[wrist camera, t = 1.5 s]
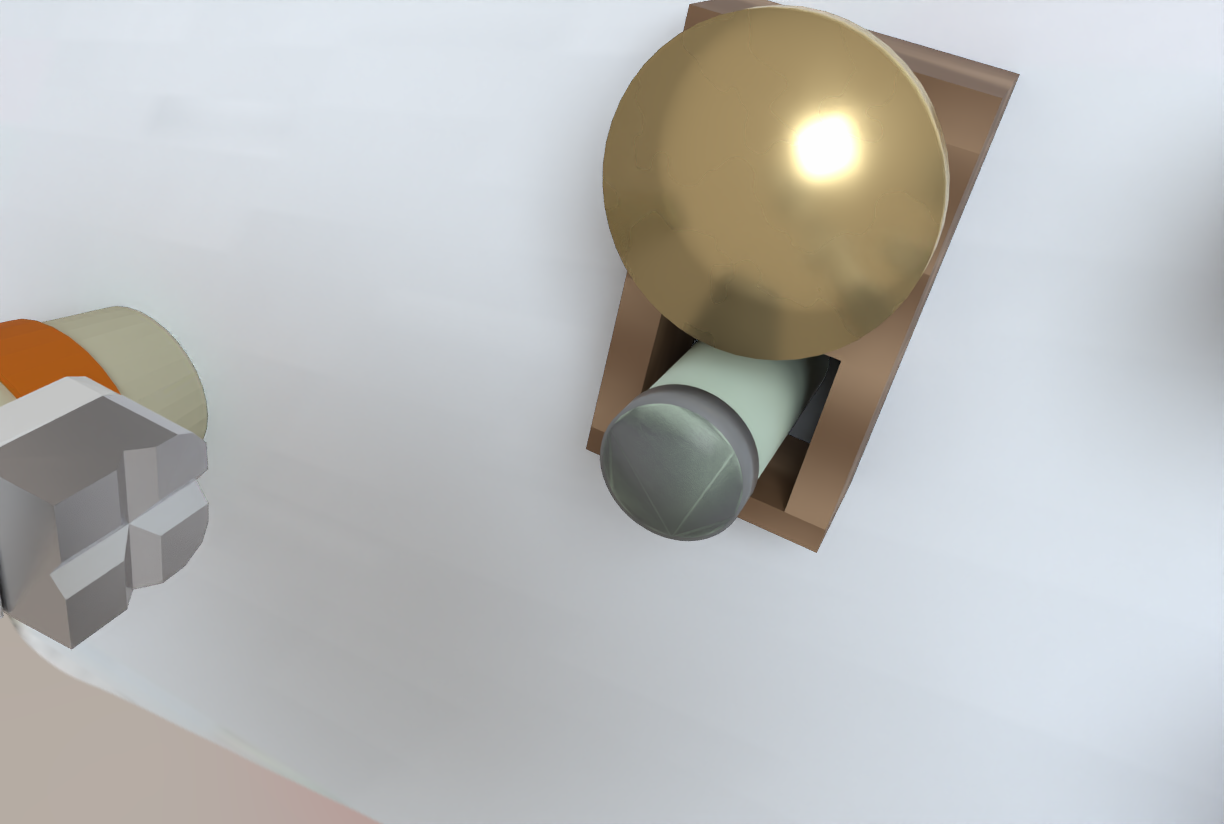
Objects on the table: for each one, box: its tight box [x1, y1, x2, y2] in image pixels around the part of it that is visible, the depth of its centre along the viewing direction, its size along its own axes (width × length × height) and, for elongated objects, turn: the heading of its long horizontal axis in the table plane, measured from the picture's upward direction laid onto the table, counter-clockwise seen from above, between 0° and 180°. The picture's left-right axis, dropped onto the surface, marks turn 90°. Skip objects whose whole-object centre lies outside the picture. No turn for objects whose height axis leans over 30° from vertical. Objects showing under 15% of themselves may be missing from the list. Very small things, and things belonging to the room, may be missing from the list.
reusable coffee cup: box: [0, 306, 208, 440], centre depth 48 cm, size 13×13×15 cm
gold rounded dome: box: [603, 5, 950, 360], centre depth 28 cm, size 9×9×6 cm
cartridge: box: [600, 341, 829, 541], centre depth 33 cm, size 5×5×10 cm
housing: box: [586, 0, 1020, 553], centre depth 33 cm, size 16×9×5 cm, turn 167°
